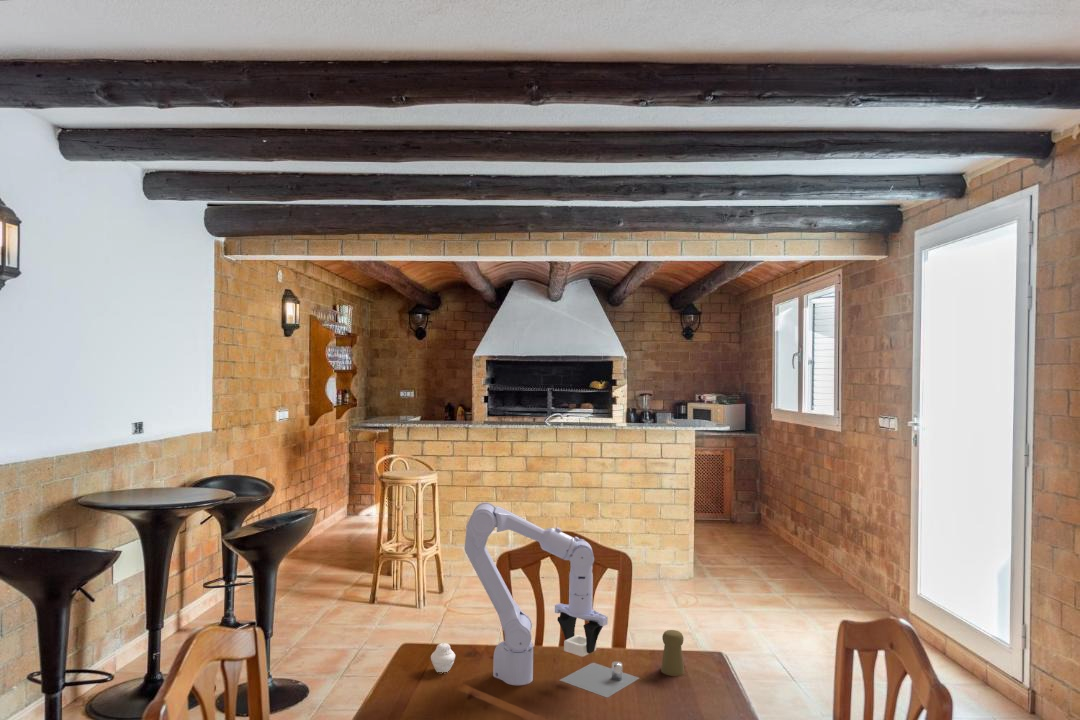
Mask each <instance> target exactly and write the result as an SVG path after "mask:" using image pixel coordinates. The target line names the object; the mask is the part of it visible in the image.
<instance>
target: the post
mask: <svg viewBox="0 0 1080 720" xmlns="http://www.w3.org/2000/svg"><path fill="white" fill-rule="evenodd" d="M611 669H612V680H615V681H621V680H622V672H623V662H621V661H612V662H611Z"/></svg>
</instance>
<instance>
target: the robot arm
mask: <svg viewBox="0 0 1080 720" xmlns="http://www.w3.org/2000/svg"><path fill="white" fill-rule="evenodd" d="M495 528H496V533H500V532H504V531H505V532H506V531H512V532H514V533H516V534H519V535H522V536H524V537H526V538H529V539H530V540H533V541H536V542H538V543H539V545H540V548H541V550H542V551H545V552H546V553H549V554H552V555H553V556H555V557H558V558H559V559H562V560H563V561H569V562H570V571H569V573H568V574H569V575H568V578H569V579H568V580H569V582H568V584H569V585H568V587H569V589H568V604H566V603H565V604H564V603H560V602H559V603H556V604H554V613H555V614H560V615H559V616H558V617H557V622H558V624H559V625H560V628H561V630H562V633H563V636H564V641H565V640H567V639H569V638H571V637H573V636H575V630H576V624H577V619H580V620H582V621H587V622H588V623H585V624H583V630H584V634H585V637H586V649H587V653H589V654H591V653H593V652H595V651H594V649H595V645H596V646H597V640H598V638H599V636H600V632H601V631H602V628H604V626H607V625H608V623H609V621H608V619H609V618H608V615H605V614H602V613H601V612H599V611H596V610H594V608H593V602H594V600H593V597H594V596H593V592H594V589H593V588H594V576H593V575H594V573H593V568H594V567H593V564H594V563H595V557H594V552H593V548H592V546H591V545H590V543H589V542H587V541H586V540H585V539H583V538H579V537H578V536H574V537H573V536H571V535H569V534H567V533H564V532H563V531H562V528H561V527H558V526H556V528H554V527H549V528H545V529H544V528H542V527H540V526H538V525H537V524H534V523H532V522H530V521H528V520H527V519H524V518H523V517H521V516H519V515H517V514H515V513H513V512H511V511H509V510H507V509H505V508H503V507H500V506H498V505H497V506H495V505H494V504H493V503H490V502H481V503H479V504H478V505H476V506H475V508H474V509H473V512H472V513H471V515H470V517H469V519H468V521H467V524H466V529H465V530H466V531H465V540H464V552H465V554H466V557H467V558H468V560H469V562H470V564H471V566H472V568H473V569H474V571H475V573H476V575H477V577H478V579H479V581H480V582H481V584H482V586H483V588H484V590H485V592H486V594H487V596H488V598H489V600H490V602H491V603H492V605H493V608H494V609H495V611H496V613H497V615H498V618H499V623H500V626H501V629H502V630H503V633H504V641H500V642H499V643H498V644H497V645H496V646H495V649H494V652H493V661H492V662H493V663H492V665H493V666H492V667H493V670H492V673H493V674H492V676H493V677H494V678H495V679H498V680H501V681H502V682H504V683H506V684H508V685H512V686H524V685H528V684H530V683H532V682H533V679H534V677H533V676H534V643H533V642H532V627H533V623H532V619H531V618H530V617H529V616H528V615H527V614H526V613H525V612H523V611H522V609H521V607H520V605H519V604H517V602H516V601H515V599H514V597H513V596H512V594H511V592H510V590H509V588H508V586H507V584H506V583H505V581H504V579H503V577H502V575H501V573H500V571H499V570H498V568H497V565H496V563H495V561H494V560H493V557H492V556H491V554H490V552H489V550H488V548H487V546H486V545H487V542H488V539H489V536H490V535H492V533H493V532H494V530H495Z"/></svg>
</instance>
